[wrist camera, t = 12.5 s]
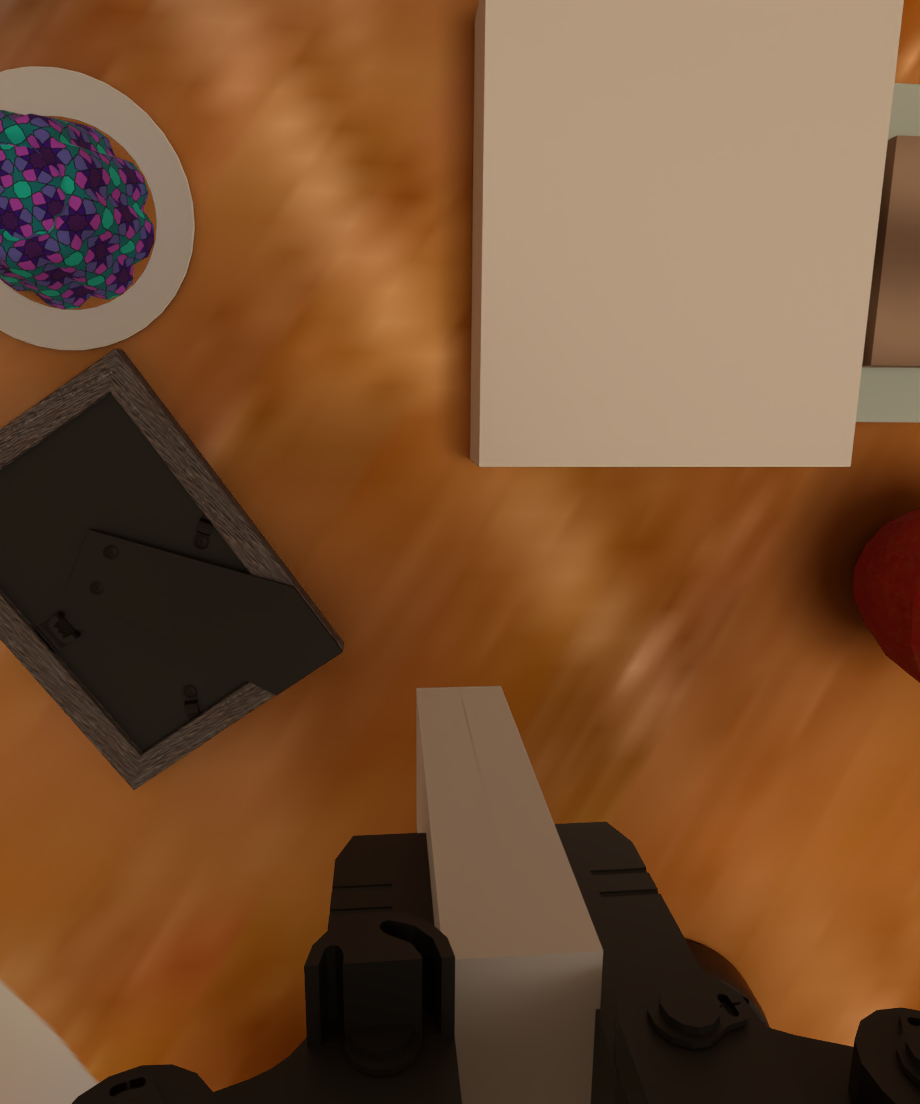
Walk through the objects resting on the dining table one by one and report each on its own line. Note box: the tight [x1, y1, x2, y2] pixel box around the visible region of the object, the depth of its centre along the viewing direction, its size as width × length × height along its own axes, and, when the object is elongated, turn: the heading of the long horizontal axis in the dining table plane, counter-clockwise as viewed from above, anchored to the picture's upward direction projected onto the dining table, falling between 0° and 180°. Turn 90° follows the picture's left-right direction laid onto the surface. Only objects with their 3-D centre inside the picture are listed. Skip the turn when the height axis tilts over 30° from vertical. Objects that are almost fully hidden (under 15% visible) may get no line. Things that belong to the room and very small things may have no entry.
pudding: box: [0, 66, 195, 350], centre depth 33 cm, size 12×12×5 cm
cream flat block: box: [470, 0, 904, 467], centre depth 36 cm, size 20×18×4 cm
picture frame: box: [0, 349, 344, 790], centre depth 38 cm, size 13×2×18 cm
